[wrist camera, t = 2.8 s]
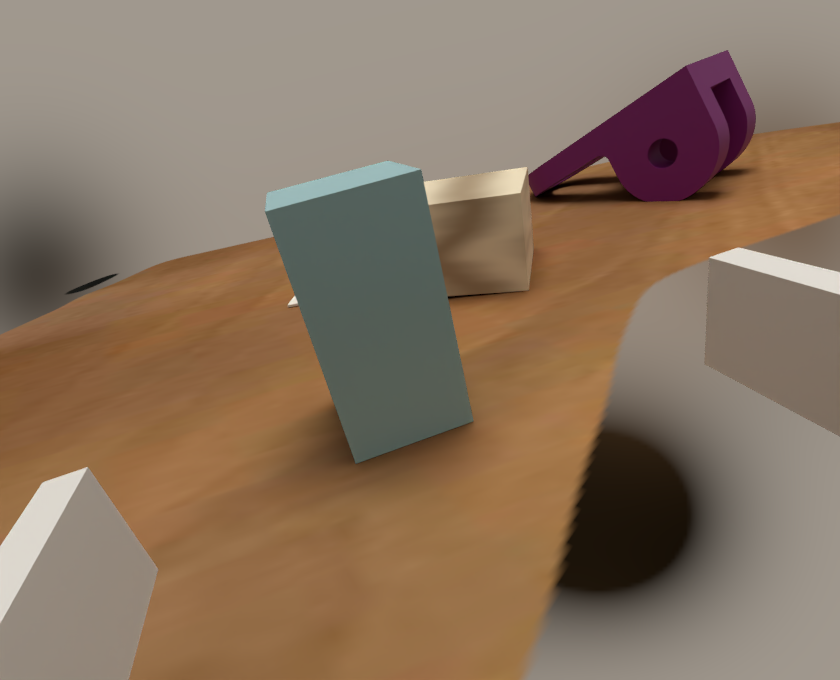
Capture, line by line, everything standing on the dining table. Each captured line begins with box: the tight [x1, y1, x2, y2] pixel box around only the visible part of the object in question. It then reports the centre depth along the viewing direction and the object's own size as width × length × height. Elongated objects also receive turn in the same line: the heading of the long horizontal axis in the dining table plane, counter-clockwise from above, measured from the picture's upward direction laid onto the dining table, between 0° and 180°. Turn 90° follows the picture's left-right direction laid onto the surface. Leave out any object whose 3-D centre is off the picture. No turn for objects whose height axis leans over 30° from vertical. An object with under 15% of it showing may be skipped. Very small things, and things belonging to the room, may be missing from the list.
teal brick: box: [265, 161, 473, 464], centre depth 19 cm, size 5×5×10 cm
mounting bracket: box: [528, 50, 756, 202], centre depth 46 cm, size 10×9×19 cm
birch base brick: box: [424, 167, 534, 296], centre depth 33 cm, size 8×8×6 cm
